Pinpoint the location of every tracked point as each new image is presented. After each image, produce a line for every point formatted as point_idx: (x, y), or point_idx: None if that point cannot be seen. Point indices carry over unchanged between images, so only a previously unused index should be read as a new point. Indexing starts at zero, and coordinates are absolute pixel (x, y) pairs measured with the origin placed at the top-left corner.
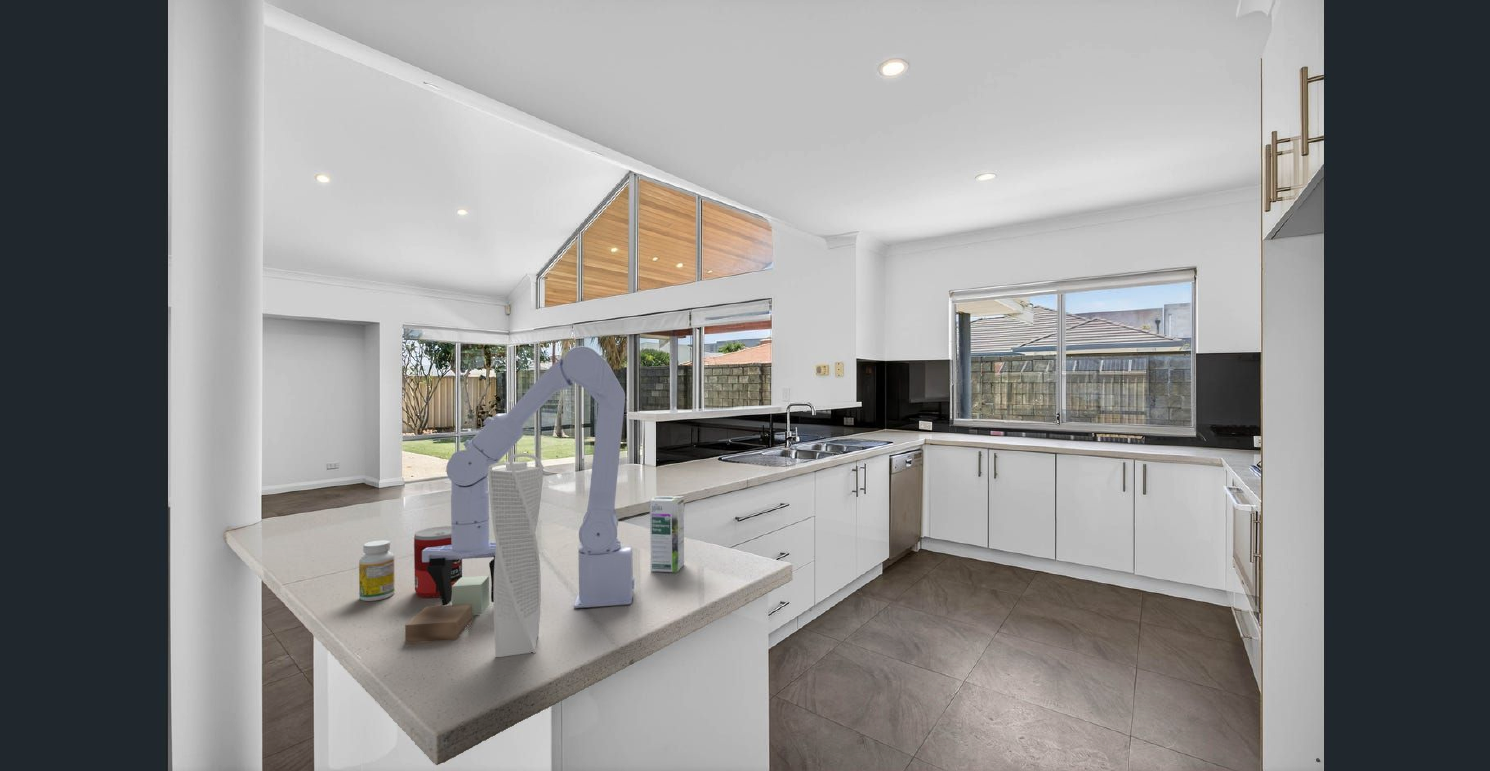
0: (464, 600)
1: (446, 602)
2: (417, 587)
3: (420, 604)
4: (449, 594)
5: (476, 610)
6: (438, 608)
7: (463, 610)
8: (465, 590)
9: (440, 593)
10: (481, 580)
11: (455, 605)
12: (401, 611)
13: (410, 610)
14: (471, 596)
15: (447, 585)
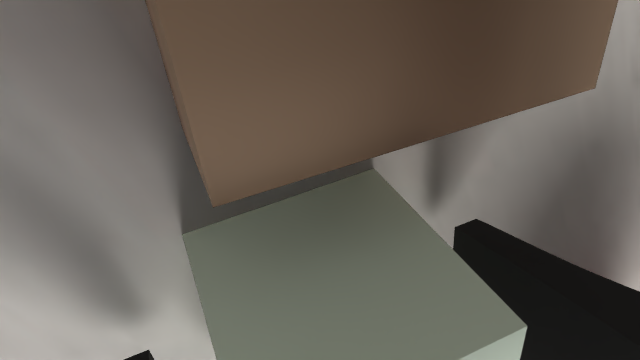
0: (344, 266)
1: (467, 237)
2: None
3: (567, 258)
4: None
5: (224, 242)
6: (496, 56)
7: (202, 14)
8: (380, 339)
9: (556, 260)
10: None
11: (370, 146)
12: (628, 178)
13: (596, 195)
14: (301, 312)
15: (550, 347)
